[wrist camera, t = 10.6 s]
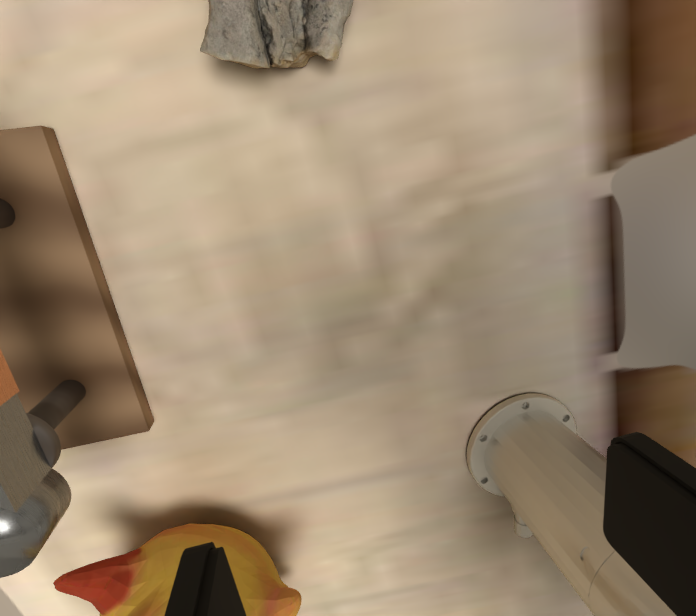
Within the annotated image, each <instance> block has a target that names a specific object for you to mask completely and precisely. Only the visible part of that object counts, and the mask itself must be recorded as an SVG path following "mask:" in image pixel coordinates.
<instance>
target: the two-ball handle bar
mask: <svg viewBox="0 0 696 616" xmlns="http://www.w3.org/2000/svg"><path fill="white" fill-rule="evenodd" d="M19 391H20V390H19V388H18V386H17V384H16V382H15V380H14V377H13V375H12V373H11V371H10V369H9V367H8V364H7V362H6V360H5V358H4V356H3V354H2V351H1V349H0V578H1V577H6V576H9V575H13V574H15V573H17V572H19V571H21V570H23V569H24V568H26V567H27V566H28V565H30V564H31V563H32V561H33V560H34V559H35V558H36V556H37V555H38V553H39V551H40V550H41V548H42V547H43V545H44V544H45V542H46V541H47V539H48V538H49V536H50V535H51V533H52V532H53V530H54V529H55V527H56V526H57V524H58V522H59V521H60V519H61V518H62V516H63V515H64V513H65V512H66V510H67V509H68V507H69V505H70V502H71V490H70V487H69V485H68V483H67V481H66V480H65V479H64V477H62V476H61V475H60V474H59V473H58V472H57V471H55V470H53V469H52V468H51V466H50V464H49V462H48V460H47V457H46V455H45V453H44V451H43V449H42V447H41V445H40V442H39V440H38V438H37V436H36V434H35V432H34V429H33V427H32V425H31V423H30V421H29V419H28V416H27V414H26V412H25V410H24V408H23V406H22V403H21V401H20V399H19V397H18V395H17V393H18V392H19Z"/></svg>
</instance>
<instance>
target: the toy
mask: <svg viewBox="0 0 696 616" xmlns="http://www.w3.org/2000/svg"><path fill="white" fill-rule="evenodd" d="M209 542H213V543H214V545H215V547H216V548H219V547H223V548H224V551H225V554H226V556H227V559H228V562H229V565H230V568H231V571H232V574H233V577H234V580H235V583H236V586H237V589H238V592H239V595H240V598H241V601H242V604H243V607H244V610H245V613H246V616H296V615H297V613H298V611H299V609H300V605H301V595H300V593H299V592H298V591H297V590H295V589H292V588H288V586H287V585H285V584H284V583H283V582H282V581H281V579H280V577H279V575H278V572H277V570H276V567H275V565H274V563H273V561H272V559H271V557H270V556H269V554H268V553H267V552H266V550H265V549H264V548H263V547H262V546H261V544H260V543H259V542H258V541H257V540H255V539H254V538H253V537H251V536H250V535H248V534H246V533H244V532H242V531H240V530H238V529H235V528H231V527H227V526H221V525H215V524H186V525H182V526H178V527H174V528H170V529H166V530H163V531H162V532H160V533H159V534H157V535H156V536H154V537H153V538H151V539H150V540H149V541H147V542H146V543H145V544H143V545H142V546H141V547H139V548H138V549H136V550H133V551H131V552H129V553H126V554H124V555H120V556H116V557H112V558H109V559H105V560H102V561H98V562H95V563H92V564H89V565H86V566H83V567H81V568H78V569H75V570H73V571H70V572H68V573H66V574H63V575H62V576H60V577H59V578H58V579H57V580H55V582H54V583H53V584H54V585H55V589H56V590H58V591H60V592H63V593H66V594H70V595H74V596H77V597H80V598H82V599H84V600H87V601H89V602H91V603H92V604H93V605H94V606H95V607H96V609H97V610H98V611H99V612H100V616H164V615H165V612H166V608H167V605H168V601H169V598H170V594H171V591H172V587H173V584H174V580H175V577H176V573H177V569H178V566H179V562H180V559H181V556H182V553H183V551H184V550H185V549H186V548H190V547H194V546H197V545H201V544H205V543H209Z"/></svg>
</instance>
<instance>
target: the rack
mask: <svg viewBox="0 0 696 616" xmlns="http://www.w3.org/2000/svg"><path fill="white" fill-rule="evenodd" d="M0 349H1V351H2V354H3V356H4V358H5V360H6V362H7V364H8V367H9V369H10V371H11V373H12V375H13V377H14V380H15V382H16V384H17V386H18V388H19V390H20V391H19V392H18V393H17V395H18V397H19V399H20V401H21V403H22V406H23V408H24V410H25V412H26V414H27V416H28V419H29V421H30V423H31V425H32V427H33V429H34V432H35V434H36V436H37V438H38V440H39V442H40V445H41V447H42V449H43V451H44V453H45V455H46V457H47V460H48V462H49V464H50V466H51V468H52V467H53V466H54V465H55V464H56V462H57V460H58V459H59V456H60V452H61V450H62V449H66V448H71V447H76V446H81V445H85V444H90V443H95V442H99V441H104V440H109V439H113V438H118V437H123V436H127V435H132V434H137V433H142V432H146V431H149V430H150V428H151V426H152V424H153V422H154V419H153V416H152V413H151V410H150V407H149V405H148V402H147V399H146V396H145V393H144V390H143V387H142V384H141V381H140V379H139V376H138V373H137V370H136V367H135V364H134V361H133V358H132V355H131V352H130V350H129V347H128V344H127V341H126V338H125V335H124V332H123V329H122V326H121V324H120V321H119V318H118V315H117V312H116V309H115V306H114V303H113V300H112V297H111V295H110V292H109V289H108V286H107V283H106V280H105V277H104V274H103V271H102V269H101V266H100V263H99V260H98V257H97V254H96V251H95V248H94V245H93V242H92V240H91V237H90V234H89V231H88V228H87V225H86V222H85V219H84V216H83V214H82V211H81V208H80V205H79V202H78V199H77V196H76V193H75V190H74V187H73V185H72V182H71V179H70V176H69V173H68V170H67V167H66V164H65V161H64V159H63V156H62V153H61V150H60V147H59V144H58V141H57V138H56V135H55V132H54V130H53V129H51V128H47V127H44V126H35V127H26V128H17V129H8V130H0Z"/></svg>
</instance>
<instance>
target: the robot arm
mask: <svg viewBox="0 0 696 616" xmlns="http://www.w3.org/2000/svg"><path fill="white" fill-rule="evenodd" d="M467 464H468V468H469V470H470V472H471V475H472V476H473V477H474V479H475V480H476V482H477V483H478V484H479V485H480V486H481V487H482V488H483V489H484V490H486V491H488V492H489V493H491V494H494V495H497V496H504V497H506V498H507V500H508V501H509V502H510V504H511V508H512V510H513V512H514V513H515V515H514V531H515V533H516V534H517V535H518V536H520V537H522V538H530V537H531V536H532V534H534V536H535V537H536V538H537V540H538V541H539V542H540V544H541V545H542V546H543V548H544V549H545V551H546V552H547V553H548V555H549V556H550V557H551V559H552V560H553V561H554V563H555V564H556V565H557V567H558V568H559V569H560V571H561V572H562V573H563V575H564V576H565V577H566V579H567V580H568V581H569V583H570V584H571V585H572V587H573V588H574V589H575V591H576V592H577V593H578V595H579V596H580V597H581V599H582V600H583V601H584V603H585V604H586V605H587V607H588V608H589V609H590V611H591V612H592V613H593V615H594V616H696V468H694V467H693V466H691V465H690V464H688V463H687V462H685V461H684V460H682V459H681V458H679V457H678V456H676V455H675V454H673V453H672V452H670V451H669V450H667V449H666V448H664V447H663V446H661V445H660V444H658V443H657V442H655V441H654V440H652V439H650V438H649V437H647V436H646V435H644V434H642V433H638V432H635V433H631V434H627V435H624V436H620V437H616V438H613V440H612V441H611V446H609V447H608V449H607V459H606V458H605V457H604V456H602V455H601V454H600V453H599V452H597V451H596V450H595V449H594V448H592V447H591V446H590V445H589V444H588V443H586V442H585V441H584V440H583V439H581V438H580V437H579V436H578V435H577V427H576V423H575V420H574V417H573V416H572V414H571V412H570V411H569V410H568V409H567V408H566V407H565V406H564V405H563V404H562V403H560V402H559V401H557V400H556V399H554V398H552V397H550V396H548V395H543V394H523V395H518V396H515V397H512V398H509V399H507V400H505V401H503V402H502V403H500V404H498V405H497V406H495V407H494V408H493V409H491V410H490V411H489V412H488V413H487V414H486V415H485V416H484V417H483V418H482V419H481V420H480V422H479V423H478V424H477V426H476V427H475V429H474V431H473V433H472V435H471V437H470V440H469V443H468V447H467ZM164 616H246V613H245V610H244V607H243V604H242V601H241V598H240V595H239V592H238V589H237V586H236V583H235V580H234V577H233V574H232V571H231V568H230V565H229V562H228V559H227V556H226V554H225V551H224V548H223V547H219V548H216V547H215V545H214V543H213V542H209V543H205V544H201V545H197V546H194V547H190V548H186V549H185V550H184V551H183V553H182V556H181V559H180V562H179V566H178V569H177V573H176V577H175V580H174V584H173V587H172V591H171V594H170V598H169V601H168V605H167V608H166V612H165V615H164Z"/></svg>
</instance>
